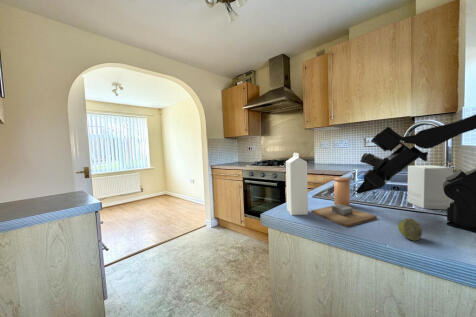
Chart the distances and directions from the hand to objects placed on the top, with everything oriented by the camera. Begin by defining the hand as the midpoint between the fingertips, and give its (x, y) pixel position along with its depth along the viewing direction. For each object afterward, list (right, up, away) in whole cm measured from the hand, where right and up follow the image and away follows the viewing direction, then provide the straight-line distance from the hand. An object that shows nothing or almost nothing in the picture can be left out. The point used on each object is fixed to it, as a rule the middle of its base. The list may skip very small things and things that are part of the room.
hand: (360, 190), depth 71 cm
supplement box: (+26, -6, 0) cm, 27 cm away
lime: (-2, -9, -23) cm, 24 cm away
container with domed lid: (-4, -7, +5) cm, 9 cm away
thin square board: (-10, -8, -6) cm, 14 cm away
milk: (-24, -8, -1) cm, 26 cm away
